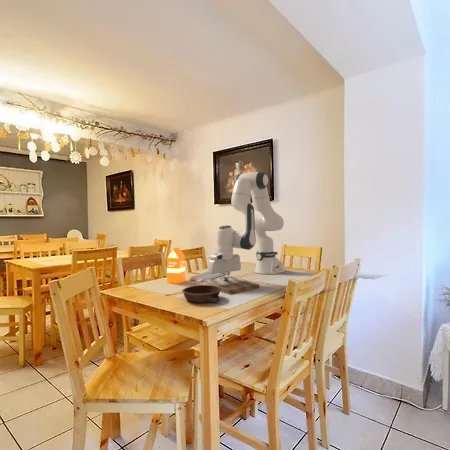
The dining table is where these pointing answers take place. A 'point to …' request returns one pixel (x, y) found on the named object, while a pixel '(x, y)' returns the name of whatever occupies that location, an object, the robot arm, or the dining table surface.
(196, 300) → the dish
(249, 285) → the walnut floorboard
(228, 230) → the robot arm
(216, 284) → the grey striped panel
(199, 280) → the crown molding
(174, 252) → the orange juice
